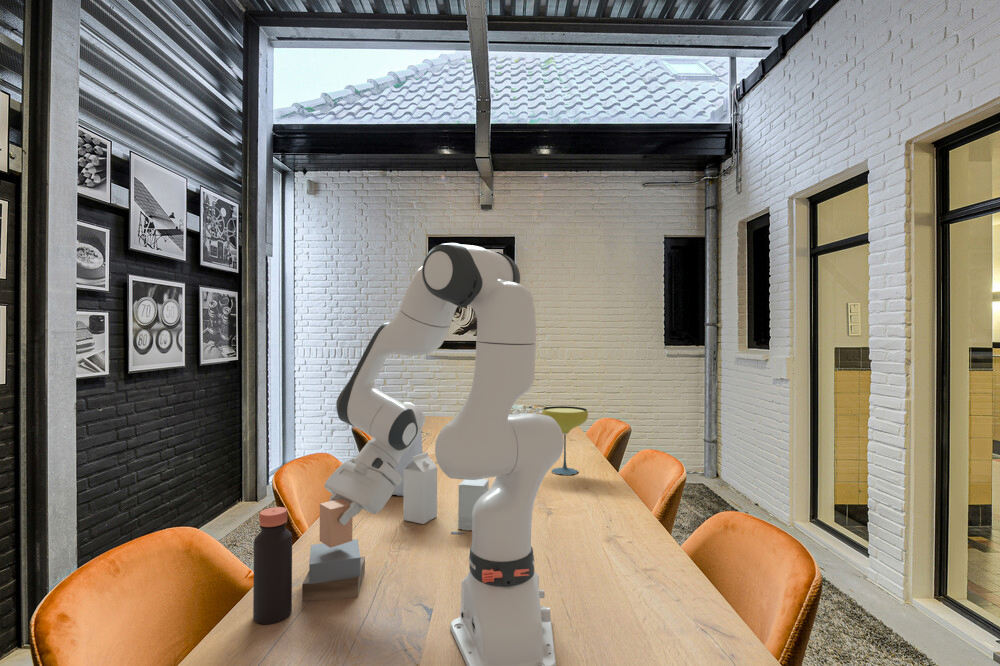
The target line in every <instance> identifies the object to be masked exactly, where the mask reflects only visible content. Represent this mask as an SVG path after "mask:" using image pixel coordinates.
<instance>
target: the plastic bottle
mask: <svg viewBox="0 0 1000 666" xmlns="http://www.w3.org/2000/svg"><path fill="white" fill-rule="evenodd" d="M423 453H424V451H423V438H422V430H421V431H420V433H419V435H418V437H417V438H416V440H415V442H414V443H413V445H412V446H411V447H410V449H409V450H408V451H407V452H406V453H405V454H403V456H402V457H401V459H400V461H399V464H398V465H397V467H396V468H395V470H396V471H397V472H398V474H399V475H400V476H401V477H402V479H403V480H402V482H401V483H400V485H399V486H395V490H394V492H393V494H392V495H397V497H398V496H399V497H404V468H406V467H407V466H408V465H409V464H410V463H411V462H412V461H413V457H414V456H417V455H420V454H423Z"/></svg>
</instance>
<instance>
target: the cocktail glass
mask: <svg viewBox="0 0 1000 666" xmlns="http://www.w3.org/2000/svg"><path fill="white" fill-rule="evenodd" d="M541 412H542V414H541V415H546V416H550V417H552V418H553V419H554V420H555V421H556V422H557V423H558V425H559V426H560V428H561V430H562V434H563V439H564V446H563V465H562V467H556V468H553V470H552V469H551V470H552V472H554V473H556V474H555V475H557V474H563V475H562V476H564V475H570V476H573V475H572V474H576V473H577V472H578V473H579V470H578V469H576V468H573V467H572V468H571V467H568V465H567V453H566V451H567V445H566V444H567V443H566V441H567V439H566V437H567V435H568V434H569V433H570V432H571V430H573V429H575V428H577V427H579V426H581V425H582V424H584V423H585V422H587V420H588V416H589V412H588V409H587V408H584V407H578V406H570V405H569V406H567V405H564V406H562V405H561V406H559V405H558V406H547V407H544V408H543V409H542V411H541ZM575 469H576V470H575ZM577 470H578V471H577ZM552 472H551V473H552ZM554 473H553V474H554ZM576 475H577V474H576Z"/></svg>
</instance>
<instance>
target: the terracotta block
mask: <svg viewBox="0 0 1000 666" xmlns="http://www.w3.org/2000/svg"><path fill="white" fill-rule="evenodd" d="M350 504H351V503H350V502H348V501H346V500H344V499H342V498H341V499H337V500H333V501H329V500H328V501H325V502H322V503H321V502H320V503H319V542H321V544H322V543H324V544H325V545H327V546H328V547H330V548H331V547H335V546H338V545H341V544H344V543H347V542H350V541H352V540H353V517H352V518H350V520H349V521H348V522H347V524H346V525H343V524H341V523H340V522H338V521H337V518H338V517H339V515H340V514H341V513H344V512H345V511H346V510H348V509H349V508H350Z"/></svg>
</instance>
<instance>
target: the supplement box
mask: <svg viewBox="0 0 1000 666" xmlns="http://www.w3.org/2000/svg"><path fill="white" fill-rule="evenodd" d="M489 480H490V478H484V479H478V480H464V479H462V481H461V482H460V483H459V484H458V508H457V509H458V510H457V511H458V517H457V518H458V520H457V523H458V524H457V525H458V527H457V530H459V529H462V531H469V530H472V512H473V508H474V505H475V503H476V502H477V500H478V499H479V498H480V497H481V496H482V495H483V494H485V493H486V492H487V491H488V490H489V489H490V486H489V485H490V483H489V482H490V481H489Z"/></svg>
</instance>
